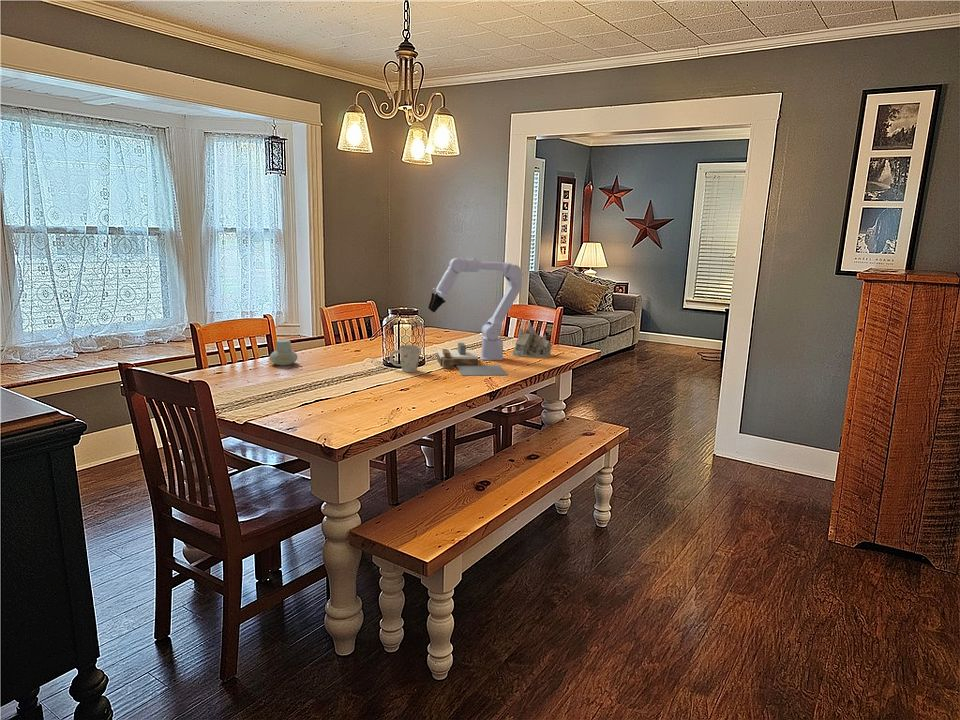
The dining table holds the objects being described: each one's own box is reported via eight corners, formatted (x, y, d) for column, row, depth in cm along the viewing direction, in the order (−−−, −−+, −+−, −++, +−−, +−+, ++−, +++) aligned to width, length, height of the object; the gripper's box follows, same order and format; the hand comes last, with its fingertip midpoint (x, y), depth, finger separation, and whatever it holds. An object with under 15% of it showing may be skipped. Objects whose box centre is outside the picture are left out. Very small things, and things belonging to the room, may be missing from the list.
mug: (418, 373, 257) (418, 349, 255) (387, 372, 257) (387, 348, 255) (420, 368, 265) (421, 345, 263) (390, 367, 265) (391, 344, 263)
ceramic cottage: (507, 353, 301) (511, 322, 298) (531, 351, 312) (535, 321, 309) (531, 361, 290) (535, 329, 287) (554, 358, 301) (559, 327, 298)
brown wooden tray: (472, 358, 288) (472, 349, 287) (480, 368, 269) (480, 359, 268) (436, 358, 285) (437, 350, 284) (442, 368, 266) (442, 359, 265)
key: (447, 353, 277) (447, 349, 277) (450, 357, 270) (450, 352, 269) (442, 353, 277) (442, 349, 276) (444, 357, 269) (444, 352, 269)
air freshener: (297, 361, 270) (296, 338, 268) (298, 366, 262) (297, 342, 260) (270, 362, 266) (269, 339, 264) (270, 367, 259) (269, 342, 257)
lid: (472, 353, 288) (472, 341, 286) (477, 360, 274) (478, 347, 273) (437, 353, 285) (437, 341, 283) (440, 360, 271) (441, 347, 270)
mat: (499, 365, 276) (499, 365, 276) (508, 375, 260) (508, 374, 260) (456, 366, 272) (456, 365, 272) (462, 375, 256) (462, 374, 256)
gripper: (436, 277, 283) (421, 304, 284) (440, 279, 269) (424, 307, 270) (450, 285, 285) (435, 311, 286) (455, 288, 271) (439, 315, 272)
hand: (431, 310), depth 278 cm, fingers open, 7 cm apart
